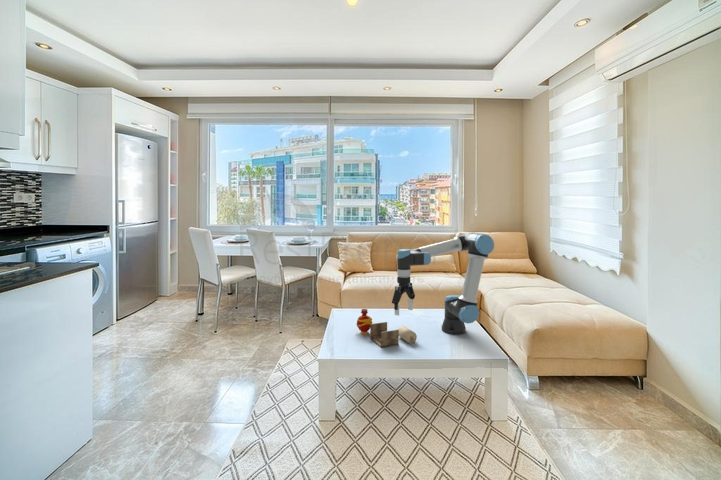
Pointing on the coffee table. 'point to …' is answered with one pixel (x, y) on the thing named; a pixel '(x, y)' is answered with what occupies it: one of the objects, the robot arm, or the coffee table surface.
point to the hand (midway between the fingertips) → (403, 312)
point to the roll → (407, 334)
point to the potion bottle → (364, 322)
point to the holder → (383, 335)
